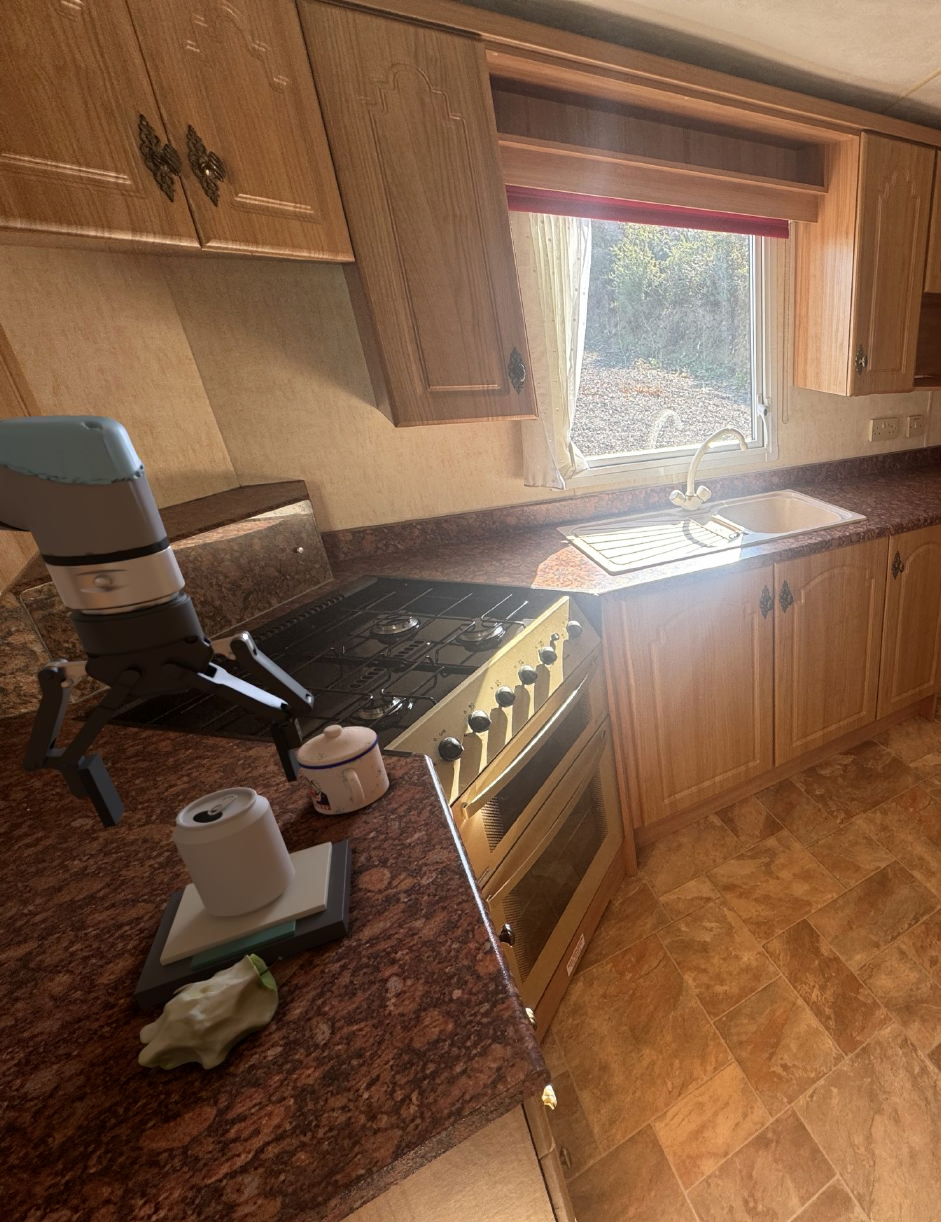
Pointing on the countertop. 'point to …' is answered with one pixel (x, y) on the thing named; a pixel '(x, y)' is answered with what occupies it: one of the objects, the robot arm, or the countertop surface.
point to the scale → (249, 926)
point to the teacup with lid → (343, 769)
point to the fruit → (211, 1016)
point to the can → (233, 851)
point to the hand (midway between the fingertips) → (209, 795)
